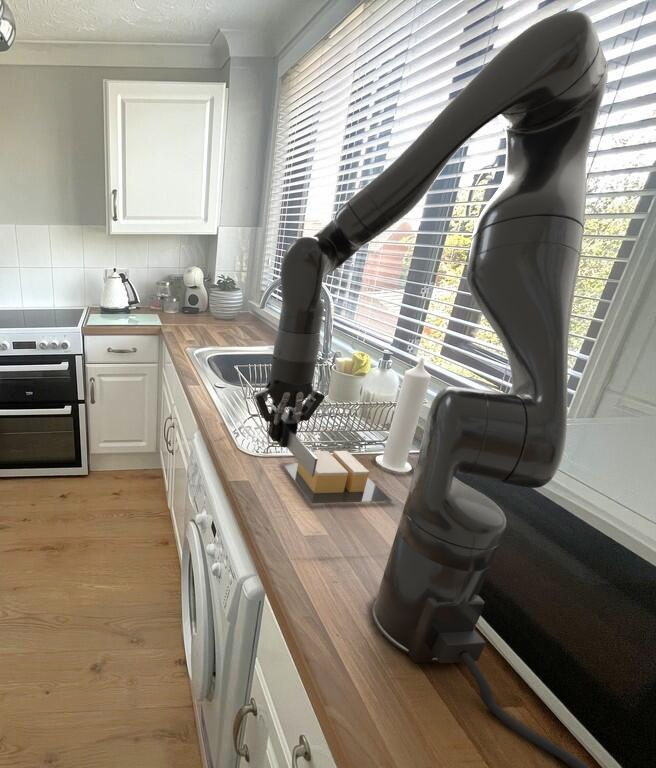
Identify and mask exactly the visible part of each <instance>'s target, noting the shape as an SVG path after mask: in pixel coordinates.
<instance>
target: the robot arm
mask: <svg viewBox="0 0 656 768" xmlns="http://www.w3.org/2000/svg"><path fill="white" fill-rule="evenodd" d="M608 74H609V73H608V63H607V59H606V57H605V54H604V50H603V48H602V46H601V42H600V39H599V36H598V33H597V30H596V28H595V25H594V23H593V21H592V19H591V17H589V15H588V14H586V13H585V12H582V11H578V10H567V11H562V12H556V13H554V14H552V15H549V16H547V17H544V18H542V19H540V20H539V21H537V22H535V23H533V24H532V25H530V26H529V27H528V28H526V29H524V30H523V31H522V32H521V33H519V34H518V35H517V36H515V37H514V38H513V39H511V41H510V42H508V43H507V44H506V45H505V46H504V47H503V48H502V49H501V50H500V51H498V52H497V54H496V55H495V56H493V57H492V58H491V60H490V61H488V63H486V65H484V66H483V68H482V69H481V70H480V71H479V72H478V73H477V74H476V75H474V77H473V78H472V79H471V80H470V81H469V82H468V83H467V85H466V86H464V87H463V89H462V90H461V91H460V92H459V93H458V94H457V95H456V96H455V97H454V98H453V99H452V100H451V101H450V102H449V103H448V104H447V106H445V108H444V109H442V111H441V112H439V114H438V115H437V116H436V117H435V118H434V119H433V120H432V121H431V122H430V124H429V125H428V126H427V127H425V129H424V130H423V131H422V132H421V133H420V134H419V136H417V137H416V139H415V140H414V141H412V143H411V144H410V145H409V146H408V147H407V148H406V149H405V150H404V151H403V152H402V153H401V154H400V155H399V156H398V157H397V158H396V159H395V160H394V161H393V162H391V163H390V164H389V165H388V166H387V167H386V168H385V169H384V170H383V171H382V172H380V173H379V174H378V175H377V176H376V177H374V178H373V179H372V180H371V181H369V182H368V183H367V184H366V185H365V186H364V187H362V188H361V189H360V190H359V191H358V192H357V193H355V194H354V195H352V197H351V198H349V199H348V200H347V201H345V202H344V203H343V204H342V205H341V206H340V207H339V208H338V209H337V210H336V212H335V213H334V216H333V219H332V220H331V221H330V222H328V223H327V224H326V225H325V226H324V227H323V228H322V229H321V230H319V231H318V232H317V233H315V234H313V236H301V237H299V238H297V239H295V240H293V241H292V242H291V243H290V244H289V245H288V246H287V248H286V249H285V252H284V254H283V257H282V259H281V265H280V292H281V308H280V314H279V321H278V328H277V332H276V336H275V340H274V346H273V351H272V359H271V367H270V373H269V381H268V382H267V384H266V386H265V388H263V389H261V390H253V391H252V397H253V399H254V402H255V404H256V406H257V410H258V412H259V414H260V416H261V417H262V418H263V420H264V421H265V422H267V423H268V431H267V434H268V437H270V439H271V440H272V442H277V441H278V436H279V430H280V424H279V423H280V420H281V417H282V414H284V411H286V408H288V414H289V415H290V416H291V417H292V418H293V419H294V420H295V421H296V422H297V423H298V424H297V430H296V435H297V434H298V427H299V424H300V423H301V422H303V421H304V422H308V421H309V420H311V418H312V416H313V415H314V413H315V412H316V411H317V410H318V408H319V407H320V405H321V403H322V402H323V401H324V399H325V394H323V393H322V392H320V390H318V389H314V388H313V387H314V386H313V384H312V383H313V380H314V376H315V372H316V366H317V361H318V355H319V353H320V351H319V350H320V343H321V331H322V324H323V319H324V315H325V314H324V313H325V301H324V299H322V298H321V295H322V288H323V287H322V286H323V281H324V280H323V279H324V278H325V277H327V276H329V275H330V274H333V272H334V271H335V270H337V269H338V268H340V267H341V266H342V265H343V264H344V263H346V261H348V260H349V259H350V258H351V257H353V255H355V254H356V253H357V252H358V251H359V250H360V249H361V248H362V247H364V246H365V245H367V244H368V243H370V242H372V241H373V240H374V239H376V238H377V237H378V236H380V235H381V234H383V233H384V232H385V231H387V230H388V229H390V228H391V227H392V226H393V225H396V224H397V223H398V222H399V221H400V220H402V219H403V218H404V217H405V216H407V215H408V214H409V213H410V212H411V211H412V210H413V209H414V208H415V207H416V206H418V205H419V203H420V202H421V201H422V200H423V198H424V197H425V196H426V194H427V193H428V192H429V190H430V189H431V187H432V186H433V185H434V183H435V181H436V180H437V179H438V177H439V176H440V174H441V173H442V171H443V170H444V169H445V167H446V166H447V165H448V164H449V162H450V161H451V160H452V158H453V157H454V156H455V155H456V154H457V153H458V151H459V150H460V149H461V148H462V147H463V146H464V145H465V144H466V143H467V142H468V141H469V140H470V139H471V138H472V137H473V136H475V134H476V133H478V132H479V131H480V130H481V129H483V127H485V126H486V125H487V124H489V123H490V122H492V121H493V120H494V119H496V118H498V120H499V121H500V123H501V125H502V127H503V129H504V132H505V139H506V140H505V141H506V153H505V163H504V164H505V167H504V172H503V177H502V180H501V183H500V185H499V187H498V189H497V190H496V192H495V193H494V194H493V196H492V197H491V198H490V199H489V201H488V202H487V203H486V205H485V206H484V208H483V210H482V211H481V213H480V215H479V217H478V219H477V221H476V224H475V226H474V230H473V233H472V237H471V243H470V248H469V255H468V262H467V268H466V275H465V279H466V285H467V288H468V291H469V293H470V295H471V297H472V299H473V301H474V302H475V304H476V305H477V307H478V309H479V311H480V312H481V314H482V315H483V317H484V319H485V320H486V321H487V323H488V324H489V326H490V327H491V328H492V330H493V332H494V333H495V334H496V336H497V337H498V339H499V342H500V343H501V345H502V347H503V349H504V352H505V354H506V356H507V359H508V363H509V369H510V374H511V375H510V376H511V385H512V386H511V387H512V393H507V392H499V391H494V390H493V391H492V390H487V389H480V388H472V387H466V386H457V385H456V386H455V385H449V386H446V387H443V388H442V389H441V390H439V392H438V393H437V394H436V395H435V396H434V399H433V400H432V402H431V404H430V407H429V410H428V412H427V416H426V419H425V424H424V429H423V434H422V438H421V443H420V447H419V452H418V456H417V459H416V464H415V466H414V471H413V474H412V478H411V481H410V485H409V489H408V493H407V496H406V500H405V503H404V507H403V509H402V513H401V516H400V519H399V523H398V526H397V529H396V532H395V535H394V539H393V542H392V544H391V549H390V552H389V555H388V559H387V561H386V565H385V569H384V571H383V575H382V578H381V581H380V584H379V589H378V593H377V595H376V599H375V601H374V602H373V605H372V610H371V614H372V615H371V616H372V618H373V621H374V625H375V626H376V627H377V629H378V630H379V632H380V633H381V634H382V635H383V637H384V638H385V639H386V640H387V641H389V643H390V644H392V645H393V646H394V647H395V648H397V649H398V650H400V651H402V652H403V653H405V654H406V655H407V656H408V657H409V658H410V659H411V661H412V662H413V663H415V664H423V663H440V664H451V663H453V664H454V663H464V665H465V666H466V667H467V670H468V671H469V672H470V673H471V675H472V677H473V679H474V680H475V682H476V684H477V686H478V689H479V693H480V697H481V700H482V701H483V703H484V705H485V706H486V707H487V708H488V710H489V711H491V713H492V714H493V715H494V716H495V717H496V718H497V719H498V720H499V721H500V722H501V723H503V724H504V725H506V726H507V727H508V728H510V729H511V730H513V731H514V732H515V733H517V734H519V735H520V736H522V738H525V739H526V740H528V741H529V742H531V743H532V744H534V745H536V747H539V748H540V749H542V750H544V751H546V752H547V753H549V754H551V755H552V756H554V757H555V758H557V759H559V760H561V761H562V762H564V763H565V764H566V765H568V766H569V767H571V768H591V767H590V766H589V765H588V764H587V763H585V762H584V761H582V760H581V759H579V758H578V757H577V756H575V755H573V754H572V753H570V752H569V751H567V750H566V749H564V748H562V747H560V746H559V745H557V744H555V743H554V742H552V741H550V740H549V739H547V738H545V737H543V736H541V735H540V734H538V733H536V732H534V731H533V730H531V729H529V728H528V727H526V726H525V725H523V724H521V723H520V722H518V721H517V720H516V719H514V718H513V717H511V715H510V714H508V713H507V712H506V711H505V710H503V709H502V708H501V707H500V706H499V704H498V703H496V700H494V698H493V693H492V689H491V686H490V684H489V683H488V680H487V679H486V677H485V675H484V674H483V672H482V671H481V669H480V668H479V666H478V665H477V663H476V662H478V661H479V659H480V657H481V655H482V652H483V650H484V648H485V646H486V644H487V642H486V640H484V639H483V637H482V636H481V635H480V634H479V633H478V631H477V630H475V628H476V626H477V624H478V621H479V619H480V617H481V615H482V612H483V610H484V607H485V605H486V602H485V600H483V598H482V597H481V596H480V595H479V593H480V591H481V589H482V586H483V584H484V581H485V579H486V577H487V574H488V572H489V570H490V567H491V564H492V562H493V561H494V557H495V555H496V553H497V551H498V549H499V546H500V543H501V542H502V539H503V537H504V535H505V532H506V529H507V517H506V515H505V512H504V511H503V510H502V508H501V507H500V506H499V505H498V504H497V503H495V501H494V500H493V499H490V498H489V497H488V496H487V495H485V494H484V493H482V492H481V491H479V490H477V489H475V488H474V487H471V486H470V485H467V484H466V483H464V482H462V481H461V480H459V479H458V478H457V477H455V475H456V474H461V475H466V476H470V477H475V478H479V479H482V480H483V479H484V480H488V481H493V482H498V483H504V484H507V485H511V486H512V485H513V486H517V487H522V488H528V489H538V488H542V487H544V486H546V485H547V484H549V483H550V482H551V481H552V480H553V479H554V477H555V475H557V473H558V470H559V468H560V466H561V463H562V460H563V457H564V454H565V453H564V452H565V447H566V439H567V432H568V431H567V430H568V396H569V395H568V392H569V391H568V389H569V388H568V387H569V386H568V385H569V384H568V383H569V382H568V381H569V379H568V378H569V377H568V374H569V373H568V372H569V371H568V369H569V336H570V328H571V326H570V325H571V318H572V313H573V312H572V310H573V304H574V298H575V291H576V285H577V279H578V273H579V268H580V262H581V255H582V247H583V241H584V231H585V222H586V221H585V220H586V203H587V189H588V187H587V186H588V184H587V183H588V182H587V181H588V178H587V177H588V175H587V162H588V160H587V159H588V153H589V149H590V144H591V141H592V137H593V134H594V130H595V127H596V124H597V120H598V116H599V114H600V109H601V106H602V103H603V100H604V96H605V92H606V89H607V84H608V76H609V75H608ZM268 396H269V397H270V398H271V404H270V410H269V408H268V405H267V402H268ZM304 401H305V402H304ZM303 402H304V403H303Z"/></svg>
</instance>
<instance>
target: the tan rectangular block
mask: <svg viewBox="0 0 656 768" xmlns="http://www.w3.org/2000/svg"><path fill="white" fill-rule="evenodd" d="M310 451H311V452H312V453H313V454H314V455H315V456H316V457H317V464H316V469H315V474H314V477H311V475H310V474H309V473H308V472H307V471H306V469H305V468H304V467H303V466H302V465H301V464H300V462H299V461H298V460H297V461H298V462H297V463H298V467H297V471H298V473H299V474H300V475H301V477H302V478H303V479H304V481H305V482H306V483H307V484H308V486H309V487H310V488H311V490H312V491H313V492H314V493H339V492H344V488H345V484H346V480H347V476H348V472H347V470H346V469H345V468H344V467H343V466H342V465H341V464H340V463H339V462H338V461H337V460H336V459H335V458H334V457H333V456H332V455H333V454H331V452H330V451H329V450H313V451H312V450H310Z"/></svg>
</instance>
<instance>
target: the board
mask: <svg viewBox="0 0 656 768" xmlns="http://www.w3.org/2000/svg"><path fill="white" fill-rule="evenodd" d="M281 464H282V466H283V467H284V469H285V470H286V471H287V473H288V474H289V475H290V477H291V478H292V479H293V481H294V482H295V484H296V485H297V486H298V488H299V489H300V491H301V492H302V493H303V495H304V496H305V497H306V499H307V500H308V501H309V503H310V504H312V505H313V504H315V505H316V504H345V503H377V502H378V503H379V502H393V500H392V499H391V498H390V497H389V496H388V495H387V494H386V493H385V492H384V491H383V490H382V489H381V488H380V487H378V485H377V484H376V483H374V482H373V480H371V479H370V478H369V477H368V478H367V482H366V486H365V490H364V492H349V491H348V490H347V489H346V487H345V488H344V492H339V493H314V492H313V491H312V490H311V488H310V487H309V486H308V484H307V483H306V482H305V481H304V479H303V478H302V477H301V475H300V474H299V473H298V471H297V467H298V462H282V463H281Z"/></svg>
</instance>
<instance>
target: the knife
mask: <svg viewBox="0 0 656 768" xmlns="http://www.w3.org/2000/svg"><path fill="white" fill-rule="evenodd" d="M279 424H280V430H279V436H278V441H276V442H277V444H278V445H279V446H280V447H281V448H287V449H288V451H289V452H290V453H291V454H292V456H293V457H294V458H295V459H296V460H297V461H299V462H300V464H301V465H302V466H303V467H304V468H305V469H306V471H307V472H308V473H309V474H310V475H311V477H314V474H315V469H316V464H317V457H316V456H315V455H314V454H313V453H312V452H311V451H312V450H310V449H309V448H308V447H307V446H306V445H305V443H304V442H303V441H302V440H301V439H300V438H299V437H298V436H297V434H296V430H297V431H298V428H297V424H298V423H297V422H296V421H295V420H294V419H293V418H292V417H291V416H290V415H289V412H287V411H286V410H285V411H284V414H282V417H281V420H280V423H279ZM298 425H299V424H298Z"/></svg>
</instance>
